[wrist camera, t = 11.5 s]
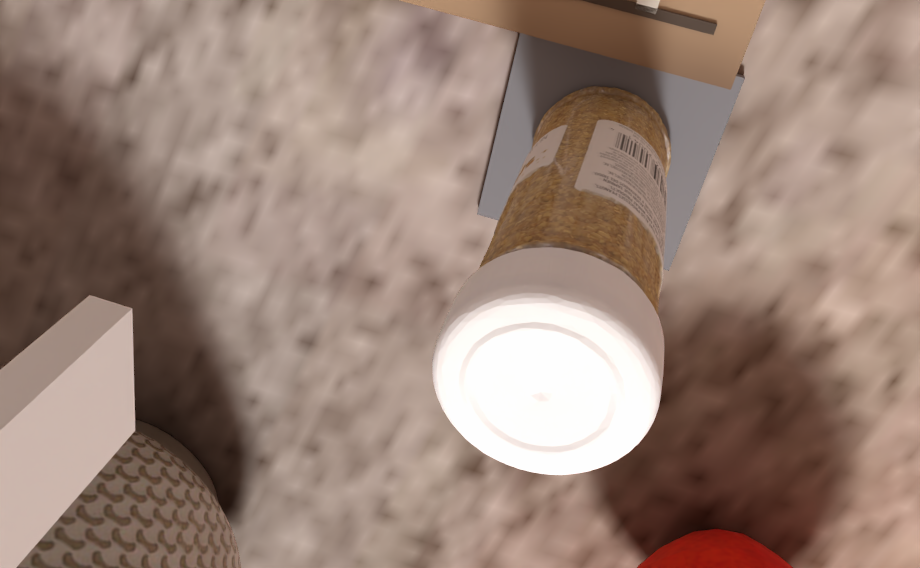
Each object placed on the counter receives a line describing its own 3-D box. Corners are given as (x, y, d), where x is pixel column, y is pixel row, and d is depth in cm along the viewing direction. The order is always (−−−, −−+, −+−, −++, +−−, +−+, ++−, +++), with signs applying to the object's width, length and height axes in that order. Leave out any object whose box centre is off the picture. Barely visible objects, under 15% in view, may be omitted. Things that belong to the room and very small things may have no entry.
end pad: (525, 16, 26) (523, 19, 26) (744, 75, 25) (744, 78, 25) (479, 210, 30) (477, 214, 29) (669, 266, 29) (668, 270, 29)
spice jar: (515, 108, 27) (389, 320, 16) (651, 63, 26) (620, 265, 14) (559, 229, 29) (475, 497, 18) (690, 194, 27) (690, 468, 16)
